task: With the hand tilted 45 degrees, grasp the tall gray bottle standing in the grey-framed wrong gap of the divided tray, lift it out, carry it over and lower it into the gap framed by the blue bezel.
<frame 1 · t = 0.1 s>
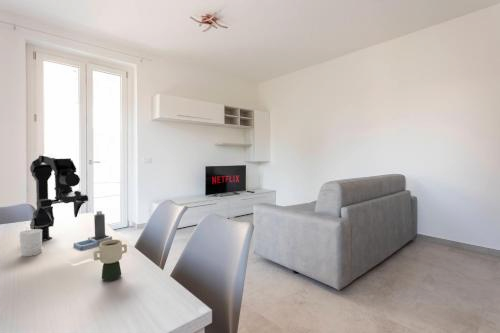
hand: (64, 219, 120), 15 cm above the table, tool pointing down, fingers open, 9 cm apart
divided tray: (92, 244, 129), on the table
white cup: (31, 254, 117), on the table
gray bottle: (100, 240, 133), point 1 cm above the table, touching divided tray
beige and green cup: (111, 278, 94), on the table
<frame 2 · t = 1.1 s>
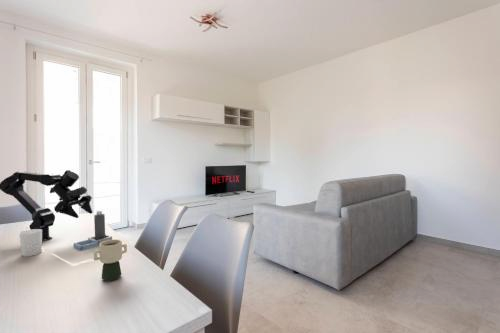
hand: (85, 215, 133), 13 cm above the table, tool tilted 45°, fingers open, 9 cm apart
nothing on the table moved.
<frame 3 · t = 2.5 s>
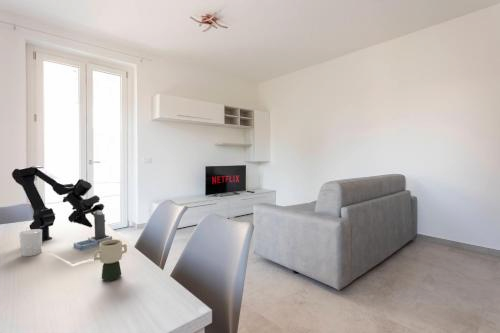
hand: (98, 224, 132), 9 cm above the table, tool tilted 45°, fingers open, 9 cm apart
nothing on the table moved.
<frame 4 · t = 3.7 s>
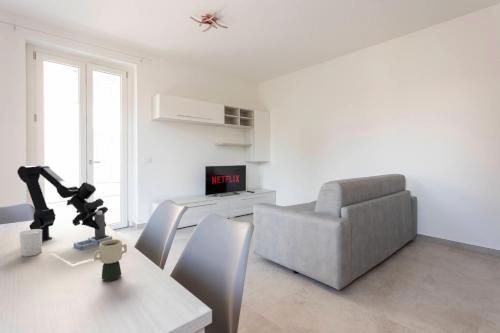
hand: (102, 227, 132), 7 cm above the table, tool tilted 45°, fingers closed on gray bottle, 4 cm apart
gray bottle: (100, 240, 133), point 1 cm above the table, touching divided tray, gripper
everything else where it was.
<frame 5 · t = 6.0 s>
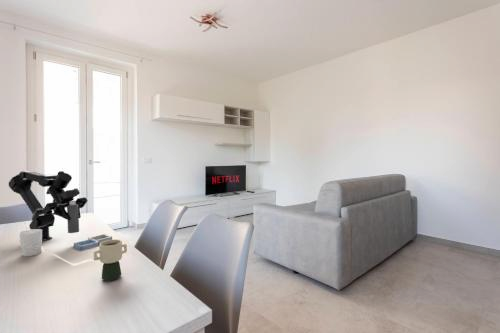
hand: (75, 218, 127), 13 cm above the table, tool tilted 45°, fingers closed on gray bottle, 4 cm apart
gray bottle: (73, 231, 128), point 7 cm above the table, touching gripper
everything else where it was.
when the fingers open (8 cm above the table, at t = 8.5 s): gray bottle stays where it is, resting on divided tray.
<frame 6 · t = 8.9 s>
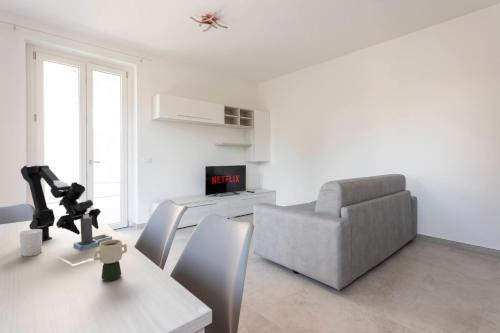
hand: (88, 231, 124), 8 cm above the table, tool tilted 45°, fingers open, 9 cm apart
gray bottle: (87, 245, 125), point 1 cm above the table, touching divided tray
everything else where it was.
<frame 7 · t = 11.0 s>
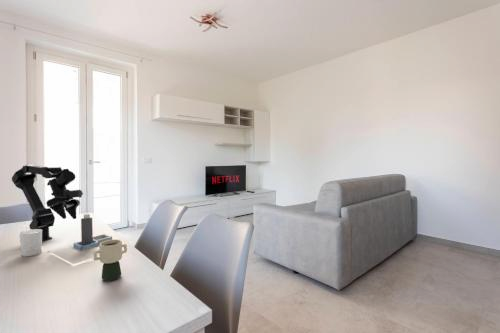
hand: (70, 218, 128), 13 cm above the table, tool tilted 25°, fingers open, 9 cm apart
nothing on the table moved.
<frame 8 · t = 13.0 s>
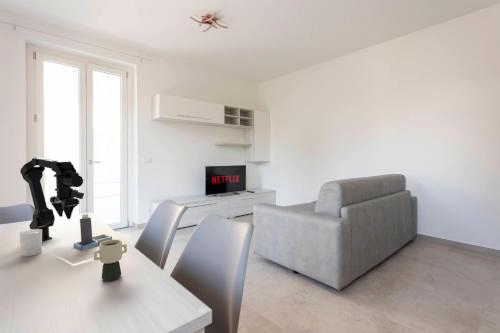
hand: (64, 217, 129), 13 cm above the table, tool pointing down, fingers open, 9 cm apart
nothing on the table moved.
at the end: gray bottle 0.5 cm from the target spot, point 0.9 cm above the table; gray bottle tilted 3°; the gripper is holding nothing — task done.
